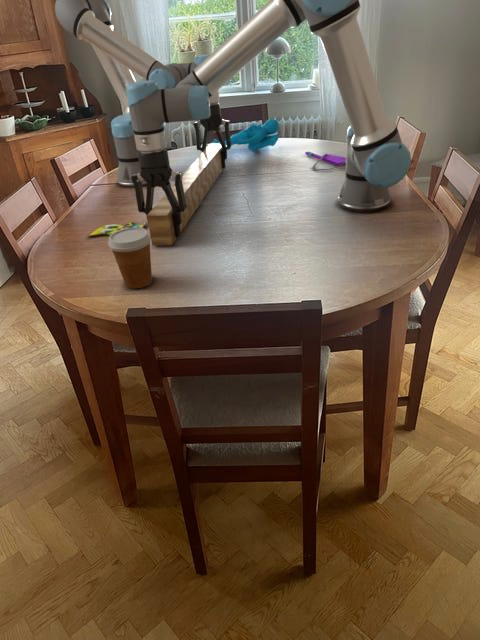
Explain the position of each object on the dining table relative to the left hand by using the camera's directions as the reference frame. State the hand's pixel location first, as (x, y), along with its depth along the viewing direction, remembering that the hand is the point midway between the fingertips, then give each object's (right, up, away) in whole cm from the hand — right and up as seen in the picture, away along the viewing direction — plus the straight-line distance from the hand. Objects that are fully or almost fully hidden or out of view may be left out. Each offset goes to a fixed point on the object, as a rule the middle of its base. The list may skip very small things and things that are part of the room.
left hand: (216, 167), depth 186 cm
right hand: (-11, -35, -53) cm, 65 cm away
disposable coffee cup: (-15, -50, -73) cm, 90 cm away
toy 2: (+12, +15, +24) cm, 30 cm away
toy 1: (-27, -33, -44) cm, 61 cm away
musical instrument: (+41, +1, -1) cm, 41 cm away
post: (-5, -18, -26) cm, 32 cm away
